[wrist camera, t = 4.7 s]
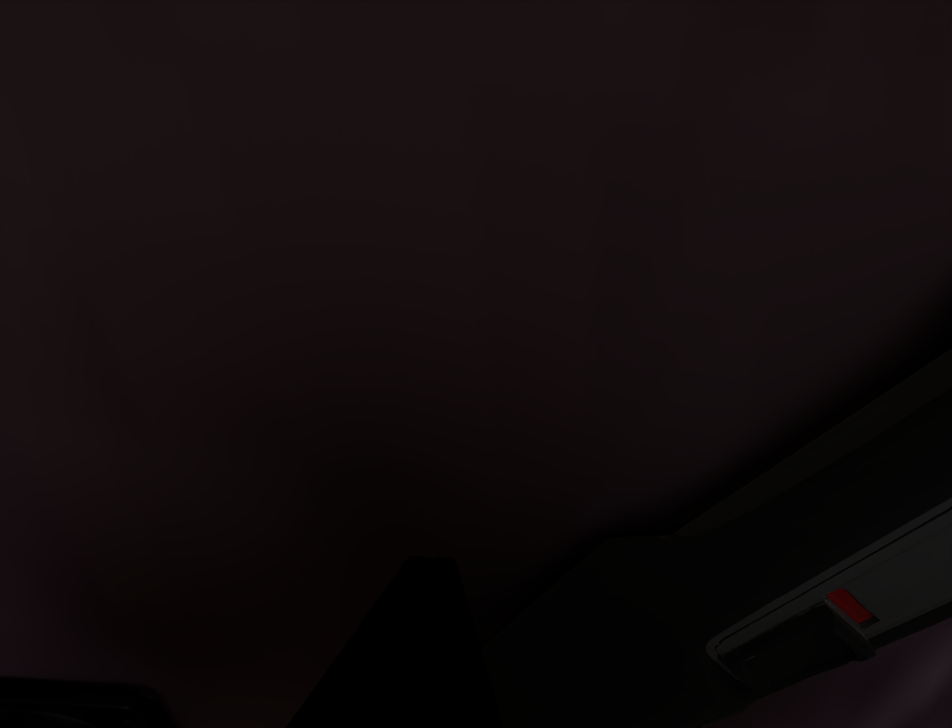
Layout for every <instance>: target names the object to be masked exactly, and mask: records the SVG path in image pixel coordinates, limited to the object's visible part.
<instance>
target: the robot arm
mask: <svg viewBox="0 0 952 728" xmlns="http://www.w3.org/2000/svg"><path fill="white" fill-rule="evenodd" d="M0 728H166V726H165V725H164V723H163V721H162V719H161V717H160V715H159V713H158V711H157V709H156V707H155V705H154V704H153V702H152V701H151V700H150V699H149V698H147V697H146V696H144V695H141V694H138V693H133V692H123V691H107V690H91V689H75V688H59V687H43V686H27V685H11V684H0ZM286 728H504V727H503V723H502V720H501V717H500V713H499V710H498V706H497V703H496V699H495V696H494V692H493V689H492V685H491V682H490V678H489V675H488V671H487V668H486V664H485V661H484V657H483V654H482V650H481V647H480V643H479V640H478V636H477V633H476V629H475V626H474V622H473V619H472V615H471V612H470V608H469V605H468V601H467V598H466V594H465V591H464V587H463V584H462V580H461V577H460V573H459V570H458V566H457V563H456V561H455V559H453V558H442V557H436V558H434V559H433V560H432V559H431V558H430V557H421V556H411V557H409V558H408V559H407V560H406V561H405V563H404V564H403V565H402V567H401V568H400V570H399V571H398V572H397V574H396V575H395V576H394V578H393V579H392V581H391V582H390V583H389V585H388V586H387V588H386V589H385V590H384V592H383V593H382V595H381V596H380V597H379V599H378V600H377V602H376V603H375V604H374V606H373V607H372V608H371V610H370V611H369V613H368V614H367V615H366V617H365V618H364V620H363V621H362V622H361V624H360V625H359V627H358V628H357V629H356V631H355V632H354V634H353V635H352V636H351V638H350V639H349V640H348V642H347V643H346V645H345V646H344V647H343V649H342V650H341V652H340V653H339V654H338V656H337V657H336V659H335V660H334V661H333V663H332V664H331V665H330V667H329V668H328V670H327V671H326V672H325V674H324V675H323V677H322V678H321V679H320V681H319V682H318V684H317V685H316V686H315V688H314V689H313V691H312V692H311V693H310V695H309V696H308V697H307V699H306V700H305V702H304V703H303V704H302V706H301V707H300V709H299V710H298V711H297V713H296V714H295V716H294V717H293V718H292V720H291V721H290V723H289V724H288V725H287V727H286Z"/></svg>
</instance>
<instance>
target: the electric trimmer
mask: <svg viewBox="0 0 952 728" xmlns="http://www.w3.org/2000/svg"><path fill="white" fill-rule="evenodd" d="M950 617H952V348H951V349H950V350H948V351H947V352H945V353H944V354H942V355H941V356H939V357H938V358H936V359H935V360H933V361H932V362H930V363H929V364H927V365H926V366H924V367H923V368H921V369H920V370H918V371H917V372H915V373H914V374H912V375H911V376H909V377H908V378H906V379H905V380H903V381H902V382H900V383H899V384H897V385H896V386H894V387H893V388H891V389H890V390H888V391H887V392H885V393H884V394H882V395H881V396H879V397H878V398H876V399H875V400H873V401H872V402H870V403H869V404H867V405H866V406H864V407H863V408H861V409H860V410H858V411H857V412H855V413H854V414H852V415H851V416H849V417H848V418H846V419H845V420H843V421H842V422H840V423H838V424H837V425H835V426H834V427H832V428H831V429H829V430H828V431H826V432H825V433H823V434H822V435H820V436H819V437H817V438H816V439H814V440H813V441H811V442H810V443H808V444H807V445H805V446H804V447H802V448H801V449H799V450H798V451H796V452H795V453H793V454H792V455H790V456H789V457H787V458H786V459H784V460H783V461H781V462H780V463H778V464H777V465H775V466H774V467H772V468H771V469H769V470H768V471H766V472H765V473H763V474H762V475H760V476H759V477H757V478H756V479H754V480H753V481H751V482H750V483H748V484H747V485H745V486H744V487H742V488H741V489H739V490H738V491H736V492H735V493H733V494H732V495H730V496H729V497H727V498H726V499H724V500H723V501H721V502H720V503H718V504H717V505H715V506H714V507H712V508H711V509H709V510H708V511H706V512H705V513H703V514H702V515H700V516H699V517H697V518H696V519H694V520H693V521H691V522H690V523H688V524H686V525H685V526H683V527H682V528H680V529H679V530H677V531H676V532H675V534H674V535H658V536H639V537H620V538H611V539H610V540H608V541H606V542H604V543H602V544H601V545H600V546H599V547H598V548H596V549H595V550H594V551H593V552H592V553H590V554H589V555H588V556H587V557H586V558H584V559H583V560H582V561H581V562H580V563H579V564H577V565H576V566H575V567H574V568H573V569H571V570H570V571H569V572H568V573H567V574H565V575H564V576H563V577H562V578H561V579H560V580H559V581H557V582H556V583H555V584H554V585H553V586H552V587H550V588H549V589H548V590H547V591H546V592H545V593H543V594H542V595H541V596H540V597H539V598H538V599H537V600H535V601H534V602H533V603H532V604H531V605H530V606H529V607H528V608H526V609H525V610H524V611H523V612H522V613H521V614H520V615H519V616H518V617H516V618H515V619H514V620H513V621H512V622H511V623H510V624H509V625H508V626H506V627H505V628H504V629H503V630H502V631H501V632H500V633H499V634H497V635H496V636H495V637H494V638H493V639H492V640H491V641H490V642H489V643H487V644H486V645H485V646H484V647H483V648H482V649H481V650H482V654H483V657H484V661H485V664H486V668H487V671H488V675H489V678H490V682H491V685H492V689H493V692H494V696H495V699H496V703H497V706H498V710H499V713H500V717H501V720H502V723H503V727H504V728H698V727H701V726H704V725H707V724H709V723H712V722H715V721H718V720H720V719H723V718H726V717H729V716H732V715H734V714H737V713H740V712H743V711H744V710H745V709H746V708H747V707H748V706H749V704H750V703H752V702H754V701H755V700H757V699H759V698H762V697H764V696H768V695H770V694H772V693H774V692H776V691H779V690H781V689H784V688H786V687H788V686H791V685H793V684H795V683H798V682H800V681H802V680H805V679H807V678H809V677H812V676H814V675H817V674H819V673H822V672H825V671H828V670H831V669H833V668H836V667H839V666H842V665H844V664H847V663H850V662H853V661H864V660H867V659H869V658H871V657H873V656H875V649H878V648H880V647H882V646H885V645H887V644H889V643H892V642H894V641H896V640H899V639H901V638H903V637H906V636H908V635H910V634H913V633H915V632H917V631H920V630H922V629H925V628H927V627H929V626H932V625H934V624H936V623H939V622H941V621H943V620H946V619H948V618H950Z"/></svg>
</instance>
